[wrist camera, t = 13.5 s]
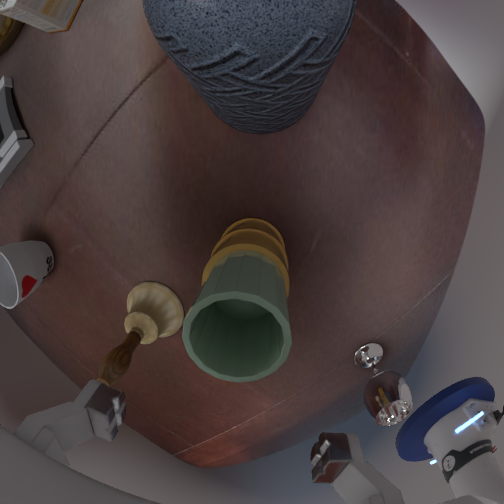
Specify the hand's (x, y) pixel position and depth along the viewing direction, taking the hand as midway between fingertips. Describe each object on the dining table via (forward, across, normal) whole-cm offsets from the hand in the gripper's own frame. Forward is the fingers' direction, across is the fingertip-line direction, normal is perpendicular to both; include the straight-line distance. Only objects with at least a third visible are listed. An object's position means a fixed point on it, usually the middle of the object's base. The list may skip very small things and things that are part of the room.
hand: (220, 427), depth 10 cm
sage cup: (+14, 0, 0) cm, 15 cm away
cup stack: (+26, 0, 0) cm, 26 cm away
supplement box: (+25, +35, -31) cm, 53 cm away
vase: (+26, +3, -19) cm, 32 cm away
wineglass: (+26, -19, +12) cm, 34 cm away
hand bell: (+26, +11, +11) cm, 30 cm away
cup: (+26, +31, +8) cm, 41 cm away
